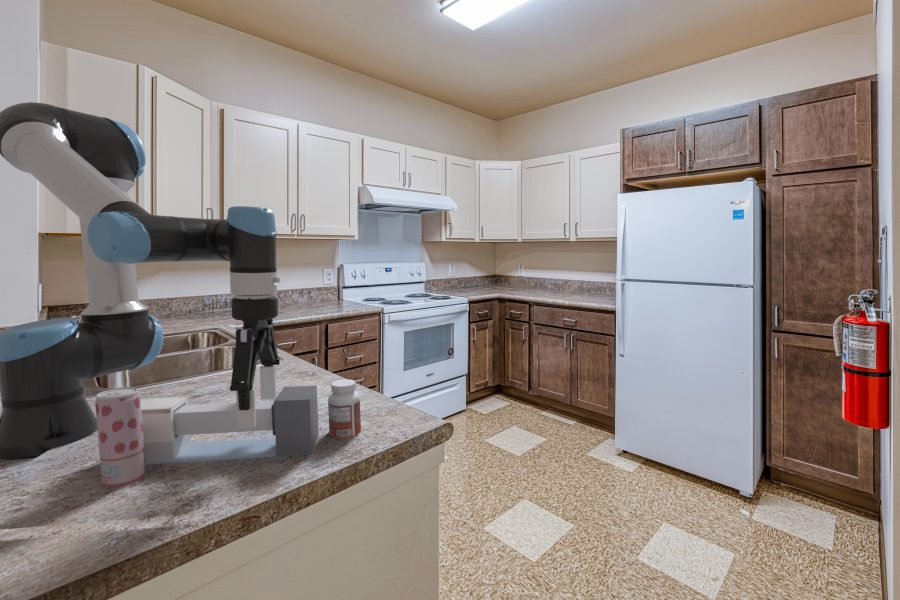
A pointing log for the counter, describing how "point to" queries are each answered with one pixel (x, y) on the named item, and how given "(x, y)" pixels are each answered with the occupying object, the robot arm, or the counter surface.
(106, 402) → the beverage can
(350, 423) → the pill bottle
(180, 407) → the tube
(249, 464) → the counter surface
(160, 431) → the sleeve
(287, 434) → the socket
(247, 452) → the mounting board
